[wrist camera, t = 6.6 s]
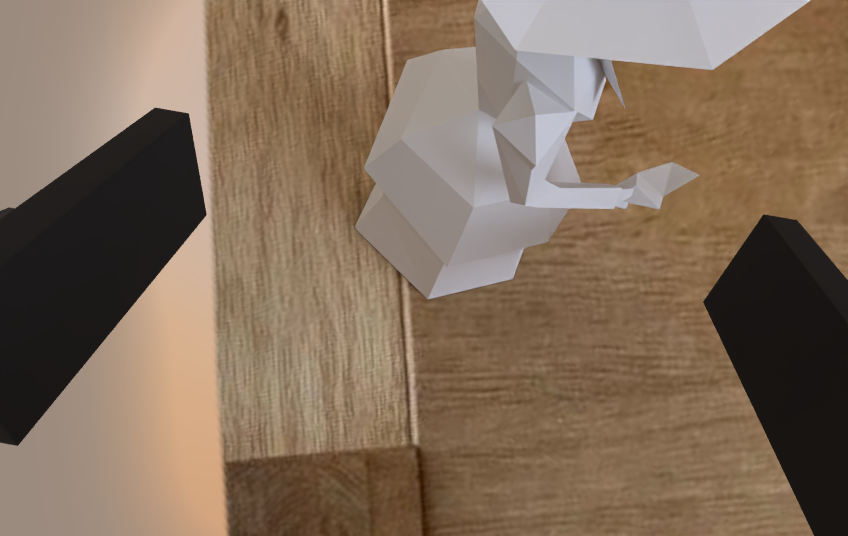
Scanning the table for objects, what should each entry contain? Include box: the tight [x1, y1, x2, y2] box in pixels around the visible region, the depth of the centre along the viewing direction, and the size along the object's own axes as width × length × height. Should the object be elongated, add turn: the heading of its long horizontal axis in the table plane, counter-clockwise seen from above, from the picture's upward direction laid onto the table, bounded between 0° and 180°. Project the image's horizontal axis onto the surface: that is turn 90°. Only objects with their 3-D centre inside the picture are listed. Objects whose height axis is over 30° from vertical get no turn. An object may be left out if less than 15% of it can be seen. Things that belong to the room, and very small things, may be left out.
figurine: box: [354, 0, 811, 299], centre depth 12 cm, size 7×8×18 cm
